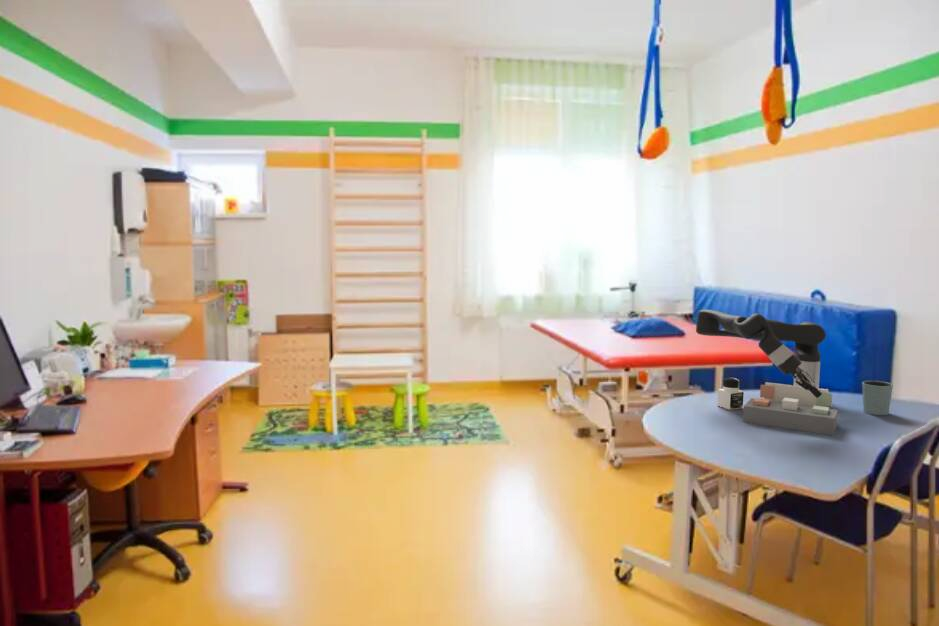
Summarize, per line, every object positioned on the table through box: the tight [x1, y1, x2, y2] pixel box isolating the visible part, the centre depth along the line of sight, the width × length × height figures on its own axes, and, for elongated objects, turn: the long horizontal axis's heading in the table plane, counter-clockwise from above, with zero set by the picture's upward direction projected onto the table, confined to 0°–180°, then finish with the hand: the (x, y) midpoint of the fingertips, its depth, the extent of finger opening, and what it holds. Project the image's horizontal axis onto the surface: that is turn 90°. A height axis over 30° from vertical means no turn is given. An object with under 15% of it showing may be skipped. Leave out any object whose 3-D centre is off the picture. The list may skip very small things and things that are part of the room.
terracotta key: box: [753, 397, 770, 407], centre depth 248 cm, size 5×5×4 cm
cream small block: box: [782, 398, 799, 411], centre depth 242 cm, size 5×5×4 cm
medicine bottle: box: [716, 377, 745, 411], centre depth 265 cm, size 7×7×12 cm
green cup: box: [861, 380, 893, 416], centre depth 256 cm, size 10×10×12 cm
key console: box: [742, 381, 839, 436], centre depth 244 cm, size 30×19×12 cm, turn 55°
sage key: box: [812, 406, 830, 415], centre depth 237 cm, size 5×5×4 cm
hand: (819, 396), depth 236 cm, fingers closed
